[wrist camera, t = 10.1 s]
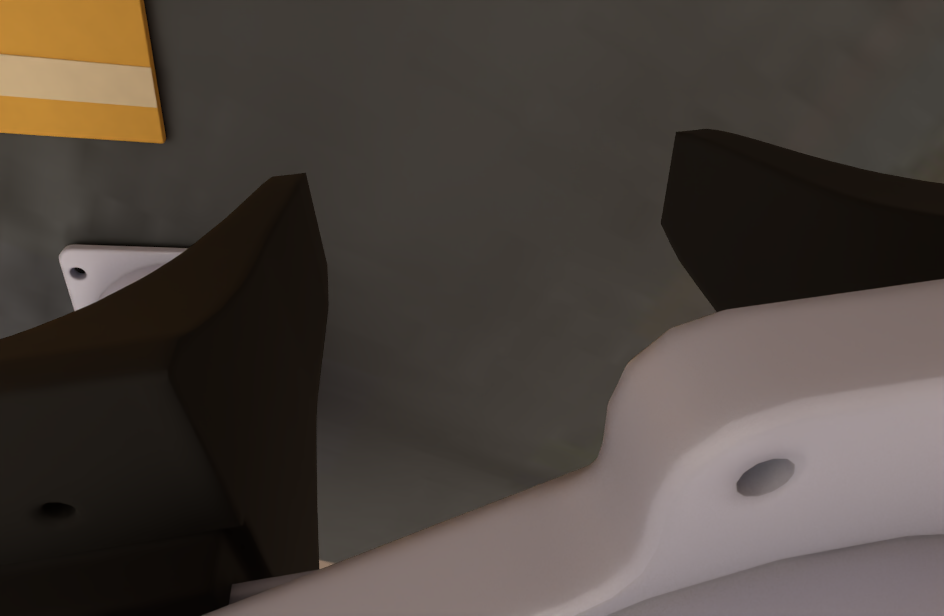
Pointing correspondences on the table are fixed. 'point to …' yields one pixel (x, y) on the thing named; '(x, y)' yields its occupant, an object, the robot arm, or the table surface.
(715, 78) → the table surface
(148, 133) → the towel
